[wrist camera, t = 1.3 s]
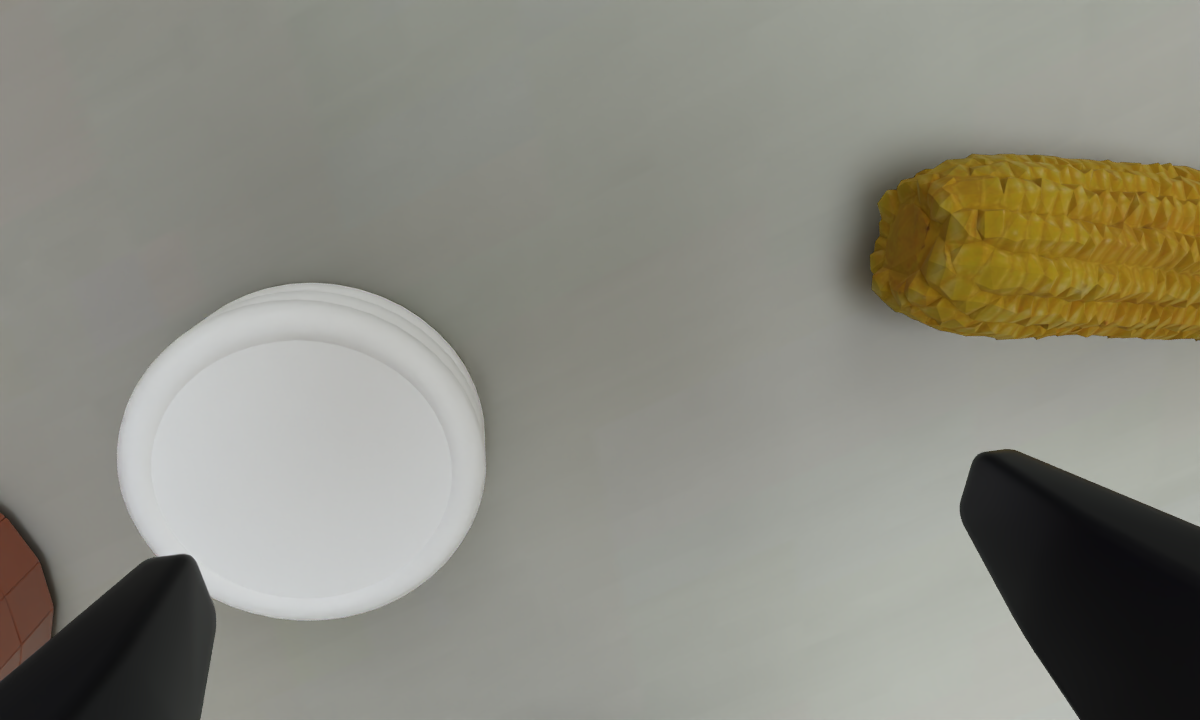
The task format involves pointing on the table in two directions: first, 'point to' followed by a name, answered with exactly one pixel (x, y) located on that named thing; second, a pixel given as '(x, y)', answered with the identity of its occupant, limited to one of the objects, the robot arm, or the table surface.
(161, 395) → the coaster
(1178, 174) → the food
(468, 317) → the table surface
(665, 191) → the table surface
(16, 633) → the bowl
